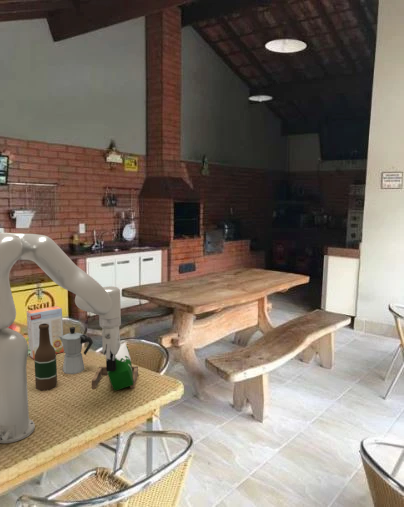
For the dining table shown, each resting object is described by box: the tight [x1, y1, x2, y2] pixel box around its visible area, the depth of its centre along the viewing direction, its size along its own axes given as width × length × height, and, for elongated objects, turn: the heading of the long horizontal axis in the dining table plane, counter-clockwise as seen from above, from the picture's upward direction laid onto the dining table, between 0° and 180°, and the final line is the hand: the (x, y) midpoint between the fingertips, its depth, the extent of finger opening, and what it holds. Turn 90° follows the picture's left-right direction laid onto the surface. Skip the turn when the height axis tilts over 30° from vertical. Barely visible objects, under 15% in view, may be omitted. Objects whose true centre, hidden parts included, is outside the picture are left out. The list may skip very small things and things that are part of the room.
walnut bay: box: [91, 365, 139, 389], centre depth 164 cm, size 13×15×3 cm
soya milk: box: [107, 342, 133, 392], centre depth 164 cm, size 9×9×20 cm
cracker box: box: [26, 305, 64, 360], centre depth 190 cm, size 14×6×21 cm, turn 130°
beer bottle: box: [33, 323, 58, 392], centre depth 157 cm, size 8×8×24 cm
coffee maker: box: [58, 326, 94, 375], centre depth 173 cm, size 15×9×18 cm, turn 80°
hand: (111, 370), depth 154 cm, fingers closed
